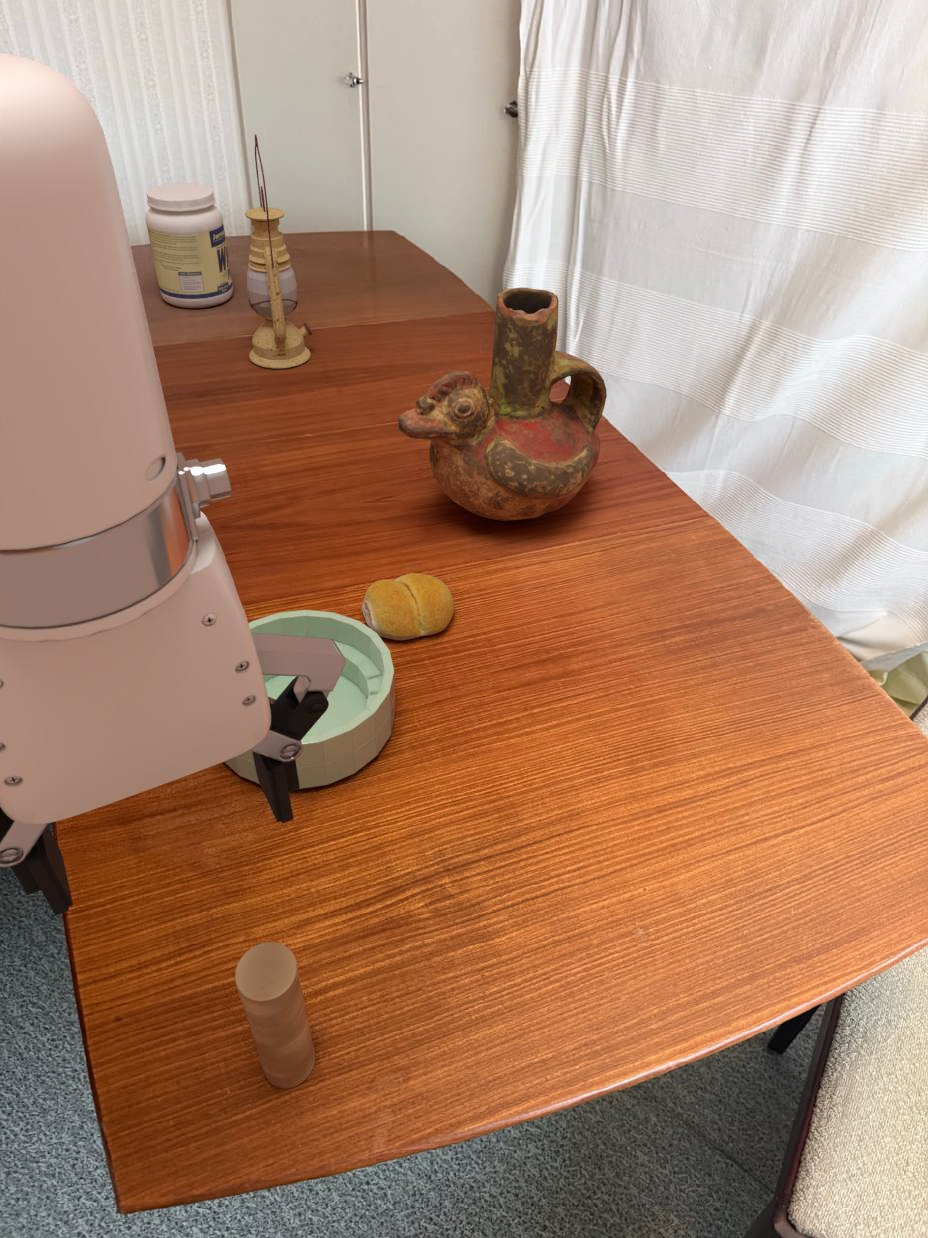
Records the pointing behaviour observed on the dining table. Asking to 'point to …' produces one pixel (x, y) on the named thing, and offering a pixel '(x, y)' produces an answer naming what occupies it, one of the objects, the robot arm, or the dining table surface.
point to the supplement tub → (188, 245)
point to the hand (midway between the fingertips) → (172, 840)
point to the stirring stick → (276, 1013)
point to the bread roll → (408, 606)
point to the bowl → (336, 698)
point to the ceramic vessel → (514, 419)
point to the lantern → (273, 290)
